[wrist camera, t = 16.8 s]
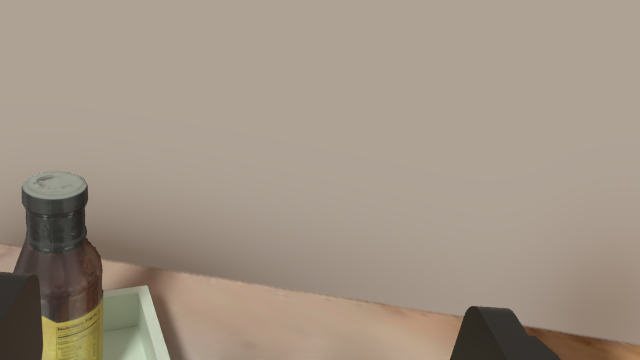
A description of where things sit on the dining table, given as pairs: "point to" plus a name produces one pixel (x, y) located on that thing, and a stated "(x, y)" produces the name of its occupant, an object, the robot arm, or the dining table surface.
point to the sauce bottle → (63, 266)
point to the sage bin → (131, 326)
